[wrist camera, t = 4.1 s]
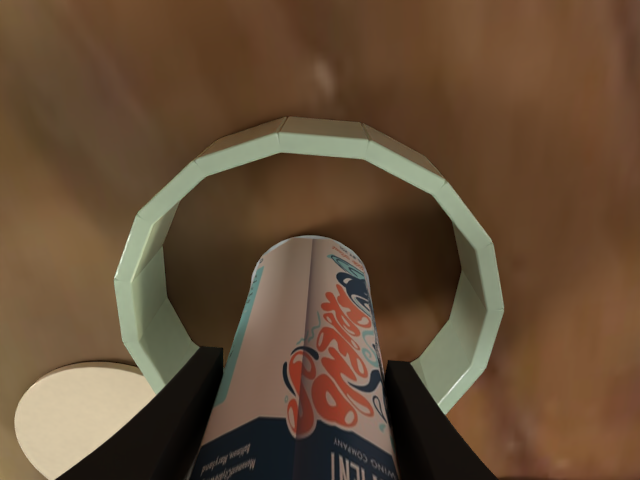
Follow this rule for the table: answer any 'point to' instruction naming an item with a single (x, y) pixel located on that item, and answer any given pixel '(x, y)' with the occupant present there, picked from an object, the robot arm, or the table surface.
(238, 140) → the ring
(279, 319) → the beer can
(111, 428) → the coaster
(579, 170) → the table surface
